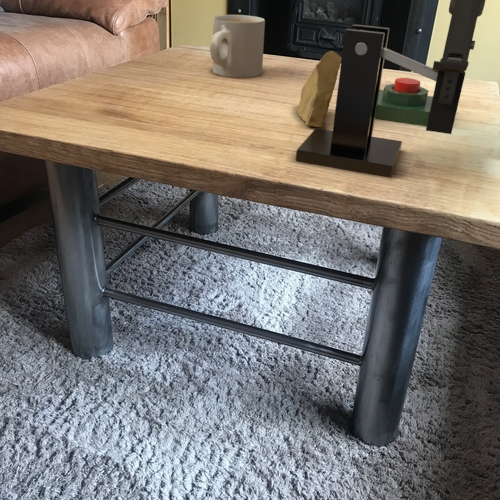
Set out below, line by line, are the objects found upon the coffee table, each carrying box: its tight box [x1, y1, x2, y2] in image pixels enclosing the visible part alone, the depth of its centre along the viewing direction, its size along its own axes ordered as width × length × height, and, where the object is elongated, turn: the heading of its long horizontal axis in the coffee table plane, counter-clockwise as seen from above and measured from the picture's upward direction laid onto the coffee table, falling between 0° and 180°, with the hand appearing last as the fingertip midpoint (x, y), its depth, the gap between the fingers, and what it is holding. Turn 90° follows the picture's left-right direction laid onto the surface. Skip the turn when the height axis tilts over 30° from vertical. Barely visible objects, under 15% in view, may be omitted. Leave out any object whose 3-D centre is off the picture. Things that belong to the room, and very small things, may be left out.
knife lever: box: [381, 47, 438, 82], centre depth 66 cm, size 13×5×2 cm, turn 70°
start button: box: [393, 77, 421, 93], centre depth 90 cm, size 4×4×2 cm
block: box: [375, 83, 433, 127], centre depth 91 cm, size 12×10×4 cm
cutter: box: [295, 24, 403, 178], centre depth 70 cm, size 12×10×16 cm
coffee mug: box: [209, 14, 266, 79], centre depth 109 cm, size 13×10×10 cm
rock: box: [295, 50, 342, 129], centre depth 86 cm, size 11×9×10 cm
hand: (442, 115), depth 68 cm, fingers open, 13 cm apart
